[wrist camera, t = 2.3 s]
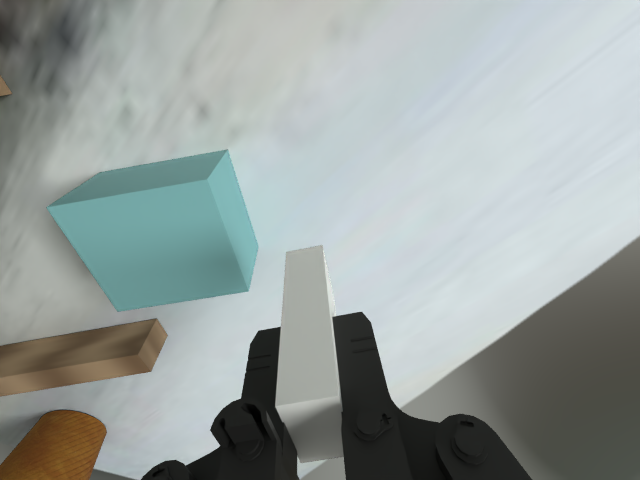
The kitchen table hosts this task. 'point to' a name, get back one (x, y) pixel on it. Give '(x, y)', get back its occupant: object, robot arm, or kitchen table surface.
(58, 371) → the wooden guide rails
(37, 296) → the kitchen table surface
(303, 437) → the robot arm
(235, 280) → the teal block
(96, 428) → the disposable coffee cup
